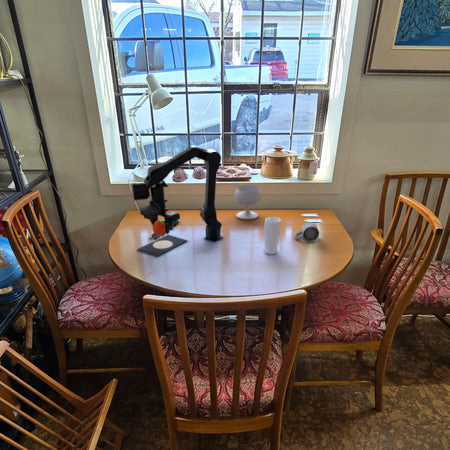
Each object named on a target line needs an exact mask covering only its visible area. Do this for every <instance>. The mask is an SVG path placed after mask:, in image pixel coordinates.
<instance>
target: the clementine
mask: <svg viewBox="0 0 450 450" xmlns="http://www.w3.org/2000/svg"><path fill="white" fill-rule="evenodd" d="M163 221H164V219H158V221H156V222H155V223H154V224H153V225H152V232H153V233H155V234H156V235H158V236H159V237H164V236H166V235H168V234H167V233H166V228H165V223H164V222H163Z"/></svg>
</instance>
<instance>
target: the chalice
mask: <svg viewBox="0 0 450 450" xmlns="http://www.w3.org/2000/svg"><path fill="white" fill-rule="evenodd" d="M261 199H262V192H261V190H260V188H259V187H258V186H257V185H240V186H238V187H237V188H236V190H235V192H234V200H235V201H236V203H237V204H239V205H241V206H243V207H244V208H245V210H244V211H239V212H237V213H236V215H235V216H236V217H237V218H239V219H241V220H253V219H257V218H258V217H259V213H257V212H255V211H250V208H252V206H255V205H257V204H258V203H260V201H261Z"/></svg>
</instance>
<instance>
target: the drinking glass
mask: <svg viewBox="0 0 450 450" xmlns="http://www.w3.org/2000/svg"><path fill="white" fill-rule="evenodd" d="M281 226H282V219H281V218H279V217H276V216H268V217H266V218H265V219H264V225H263V228H264V229H263V230H264V252H265V253H266V254H267V255H274V254H276V253H277V252H278V246H279V239H280V234H281V228H282V227H281Z"/></svg>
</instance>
